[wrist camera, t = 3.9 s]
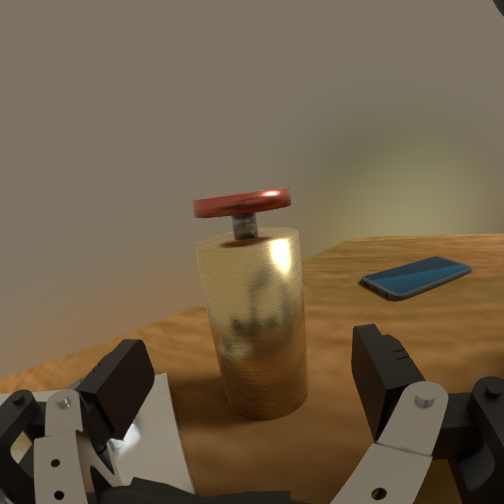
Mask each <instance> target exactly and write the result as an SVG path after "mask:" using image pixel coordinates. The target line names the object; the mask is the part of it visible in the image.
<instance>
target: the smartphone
mask: <svg viewBox="0 0 504 504" xmlns="http://www.w3.org/2000/svg"><path fill="white" fill-rule="evenodd" d="M470 272H471V267H470V266H468V265H465V264H462V263H459V262H456V261H453V260H449V259H446V258H443V257H438V256H435V257H431V258H427V259H424V260H421V261H417V262H414V263H410V264H407V265H403V266H400V267H396V268H392V269H389V270H385V271H381V272H378V273H374V274H370V275H366V276H364V277H362V278H361V283H362V284H363V285H368V286H369V288H370V289H372V290H376V291H377V292H378V293H380V294H381V295H383V296H385V297H386V296H388V298H389V299H391V300H394V301H401V300H405V299H408V298H410V297H413V296H416V295H418V294H421V293H423V292H426V291H428V290H431V289H433V288H436V287H438V286H441V285H443V284H446V283H448V282H450V281H453V280H455V279H457V278H460V277H462V276H464V275H466V274H469V273H470Z"/></svg>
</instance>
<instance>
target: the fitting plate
mask: <svg viewBox="0 0 504 504" xmlns="http://www.w3.org/2000/svg"><path fill="white" fill-rule="evenodd" d="M84 379H85V378H81V379H79V380H78V381H76V382H75V383H73V384H72V385H71V386H69V387H68V388H66V389H72V390H75V389H76V388H77V387H78V385H79V384H80V383H81V382H82V381H83V380H84ZM58 391H60V390H55V391H44V392H31V393H32V394H33V396H34V398H35V399H36V401H39V402H47V400H48V399H49V398H50V396H52V395H53V394H54V393H56V392H58ZM11 394H13V393H10V394H0V406H1V405H2V403H3V402H4V401H5V400H6V399H7V398H8V397H9V396H10V395H11ZM108 443H109V445H110V446H111V449H112V453H113V456H114V460H115V463H116V466H117V470H118V473H119V476H120V479H121V481H122V483H123V485H130V483H131V481H132V479H133V477H138V478H142V479H146V480H151V481H156V482H161V483H166V484H169V485H171V486H174V487H176V488H179V489H181V490H184V491H187V492H189V493H192V494H195V495H197V492H196V489H195V486H194V482H193V479H192V476H191V472H190V469H189V465H188V462H187V458H186V454H185V451H184V447H183V443H182V439H181V435H180V431H179V426H178V422H177V418H176V413H175V408H174V404H173V399H172V394H171V389H170V383H169V380H168V377H167V374H166V373H163V374H158V375H155V381H154V385H153V387H152V389H151V390H150V392H149V394H148V396H147V397H146V399H145V401H144V403H143V405H142V406H141V408H140V410H139V412H138V413H137V415H136V417H135V419H134V421H133V422H132V424H131V426H130V428H129V430H128V431H127V433H126V435H125V437H124V439H123V441H121V440H116V439H112V438H110V439H109V440H108ZM31 445H32V443H31V442H30V440H29V439H28V438H27V436H26V435H25V434H24V432H23V431H22V433H21V434H20V435H19V437H18V438H17V439H16V441H15V442H14V443H13V445H12V446H11V455H12V457H13V459H14V460H15V461H16V462H17V463H19V462H20V460H21V459H22V458H23V456H24V455H25V453H26V452H27V450H28V449H29V447H30V446H31Z"/></svg>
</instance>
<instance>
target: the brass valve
mask: <svg viewBox="0 0 504 504" xmlns="http://www.w3.org/2000/svg"><path fill="white" fill-rule="evenodd" d="M192 203H193V210H194V217H195V218H211V217H222V216H231V217H232V224H233V231H232V232H227V233H222V234H218V235H214V236H211V237H208V238H205V239H203V240H200V241H199V242H197V243H196V244H195V249H196V255H197V261H198V266H199V272H200V277H201V283H202V288H203V293H204V298H205V303H206V308H207V313H208V318H209V323H210V328H211V333H212V337H213V342H214V346H215V351H216V355H217V359H218V364H219V368H220V372H221V376H222V381H223V385H224V389H225V393H226V397H227V401H228V403H229V405H230V407H231V408H232V409H233V410H234V411H235V412H236V413H238V414H240V415H242V416H244V417H247V418H250V419H256V420H269V419H276V418H280V417H283V416H285V415H288V414H290V413H292V412H293V411H295V410H296V409H298V408H299V407H300V406H301V405H302V404H303V402H304V401H305V399H306V397H307V394H308V374H307V348H306V327H305V310H304V294H303V280H302V267H301V255H300V244H299V233H298V231H297V230H295V229H292V228H283V227H267V228H266V227H265V228H257V222H256V213H255V212H261V211H267V210H273V209H278V208H283V207H287V206H290V205H291V196H290V189H289V188H276V189H266V190H256V191H248V192H240V193H233V194H226V195H219V196H213V197H207V198H201V199H196V200H192Z"/></svg>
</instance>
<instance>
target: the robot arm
mask: <svg viewBox="0 0 504 504" xmlns="http://www.w3.org/2000/svg"><path fill="white" fill-rule="evenodd" d="M493 1H494V3H495V5H496V7H497V8H498V10H499V11H500V13H501V14H502V15H503V16H504V0H493ZM351 366H352V374H353V378H354V381H355V384H356V387H357V390H358V393H359V396H360V399H361V402H362V405H363V408H364V411H365V414H366V417H367V420H368V423H369V427H370V430H371V433H372V436H373V440H374V442H373V443H372V445H371V446H370V447H369V449H368V450H367V452H366V454H365V455H364V457H363V458H362V460H361V461H360V463H359V464H358V466H357V467H356V469H355V470H354V472H353V473H352V475H351V476H350V478H349V479H348V480H347V482H346V483H345V485H344V486H343V487H342V489H341V490H340V491H339V493H338V494H337V495H336V497H335V498H334V499H333V500H332V502H331V503H330V504H413V502H414V500H415V498H416V496H417V493H418V491H419V489H420V487H421V485H422V483H423V480H424V478H425V476H426V473H427V471H428V468H429V466H430V463H431V460H438V459H447V460H448V463H449V465H450V468H451V471H452V473H453V476H454V479H455V482H456V485H457V488H458V491H459V494H460V497H461V500H462V503H463V504H504V380H503V379H501V378H498V377H493V376H489V377H484V378H482V379H480V380H478V381H477V382H476V383H475V385H474V387H473V390H472V392H469V393H458V394H447V392H446V390H445V389H444V388H443V387H442V386H441V385H439V384H437V383H434V382H429V381H426V380H425V379H424V377H423V376H422V374H421V373H420V371H419V370H418V368H417V367H416V365H415V364H414V362H413V360H412V359H411V357H410V358H409V355H408V353H407V352H406V351H405V349H404V347H403V346H402V344H401V343H400V341H399V340H397V339H396V338H394V337H392V336H391V335H389V334H388V335H381V333H380V332H379V330H378V328H377V327H376V325H375V324H367V325H361V326H355V327H354V328H353V341H352V360H351ZM154 381H155V374H154V370H153V367H152V364H151V361H150V359H149V356H148V353H147V350H146V347H145V344H144V342H143V341H142V340H137V339H124V340H122V341H121V342H120V343H119V345H118V346H117V347H116V348H115V349H114V350H113V351H112V352H110V353H109V354H107V355H106V356H104V357H103V358H102V359H101V360H100V362H99V363H98V365H96V366H95V367H94V368H93V369H92V371H91V372H90V373H89V374H88V375H87V376H86V377H85V379H84V380H83V381H82V382H81V383H80V384H79V385H78V387H77V388H76V389H75V390H72V389H64V390H60V391H58V392H56V393H54V394H53V395H52V396H50V398H49V399H48V400H47V402H39V401H36V399H35V398H34V396H33V394H32V393H31V391H29V390H19V391H16V392H14V393H13V394H11V395H10V396H9V397H8V398H7V399H6V400H5V401H4V402H3V403H2V405H1V406H0V504H310V503H306V502H301V501H295V500H291V498H290V491H268V492H242V493H235V494H228V495H221V496H212V497H201V496H198V495H195V494H192V493H189V492H187V491H184V490H181V489H179V488H176V487H174V486H171V485H169V484H166V483H161V482H156V481H151V480H146V479H142V478H138V477H133V479H132V481H131V483H130V485H123V483H122V481H121V479H120V476H119V473H118V470H117V466H116V463H115V460H114V456H113V453H112V449H111V446H110V445H109V443H108V440H109V439H110V438H112V439H116V440H121V441H123V439H124V437H125V435H126V433H127V431H128V430H129V428H130V426H131V424H132V422H133V421H134V419H135V417H136V415H137V413H138V412H139V410H140V408H141V406H142V405H143V403H144V401H145V399H146V397H147V396H148V394H149V392H150V390H151V389H152V387H153V385H154ZM22 431H23V432H24V434H25V435H26V436H27V438H28V439H29V440H30V442H31V443H32V445H31V446H30V447H29V449H28V450H27V452H26V453H25V455H24V456H23V458H22V459H21V460H20V462H19V463H17V462H16V461H15V460H14V459H13V457H12V455H11V446H12V445H13V443H14V442H15V441H16V439H17V438H18V437H19V435H20V434H21V433H22ZM375 441H377V442H375Z"/></svg>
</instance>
